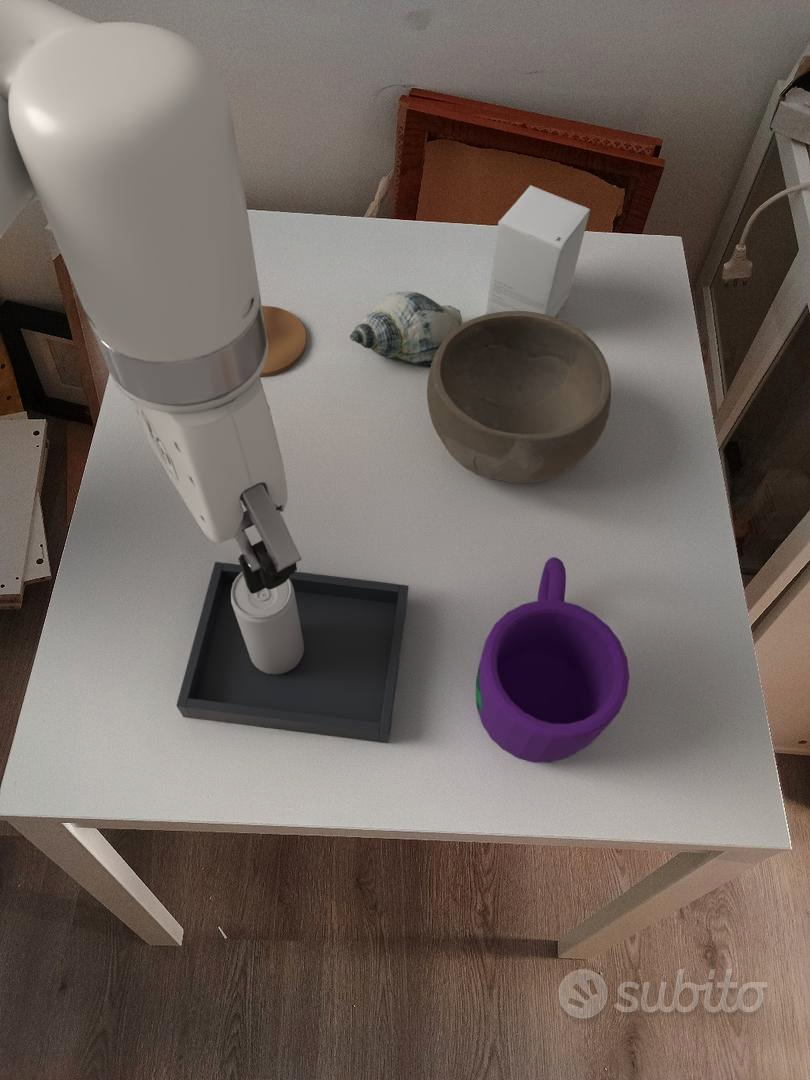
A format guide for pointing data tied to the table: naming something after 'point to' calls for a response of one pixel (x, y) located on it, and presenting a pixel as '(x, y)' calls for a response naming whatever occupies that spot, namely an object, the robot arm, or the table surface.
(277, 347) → the copper pad
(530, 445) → the bowl
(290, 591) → the beverage can
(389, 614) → the tray
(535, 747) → the mug
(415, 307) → the seashell
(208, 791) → the table surface
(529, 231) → the white packaging box
